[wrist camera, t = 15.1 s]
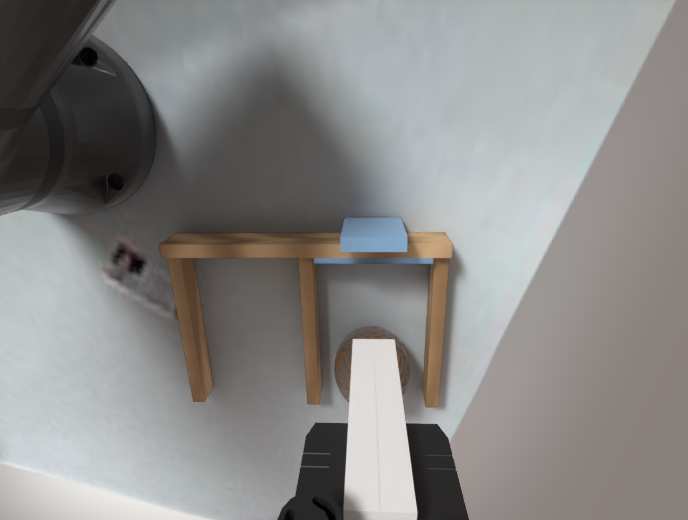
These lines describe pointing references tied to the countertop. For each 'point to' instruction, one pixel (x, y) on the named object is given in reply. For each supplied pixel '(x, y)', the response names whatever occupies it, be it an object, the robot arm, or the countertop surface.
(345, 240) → the tab
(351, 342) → the vase
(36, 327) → the countertop surface
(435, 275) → the rack
